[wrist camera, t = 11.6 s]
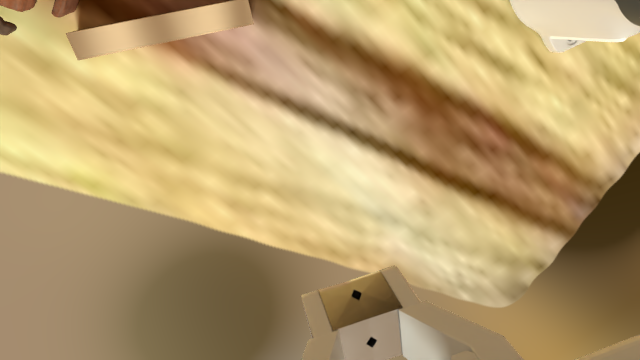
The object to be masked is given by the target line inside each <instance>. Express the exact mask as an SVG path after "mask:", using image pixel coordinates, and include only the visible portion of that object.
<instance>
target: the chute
mask: <svg viewBox="0 0 640 360" xmlns="http://www.w3.org/2000/svg"><path fill="white" fill-rule="evenodd" d="M252 24H254V23H253V18H252V14H251V10H250V6H249V1H248V0H231V1H226V2H221V3H216V4H210V5H205V6H200V7H195V8H190V9H185V10H180V11H175V12H169V13H164V14H159V15H154V16H149V17H144V18H139V19H134V20H128V21H123V22H118V23H113V24H108V25H103V26H98V27H92V28H87V29H82V30H77V31H73V32H70V33H66V35H67V37H68V39H69V42H70V44H71V46H72V48H73V50H74V53H75V55H76V57H77V59H78V60H82V59H87V58H92V57H97V56H102V55H107V54H111V53H116V52H121V51H126V50H131V49H136V48H141V47H145V46H150V45H155V44H160V43H165V42H170V41H175V40H179V39H184V38H189V37H194V36H199V35H204V34H209V33H213V32H218V31H223V30H228V29H233V28H238V27H243V26H247V25H252Z"/></svg>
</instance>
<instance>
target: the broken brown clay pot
mask: <svg viewBox="0 0 640 360" xmlns="http://www.w3.org/2000/svg"><path fill="white" fill-rule="evenodd" d="M36 1H37V0H0V5H1V6H4V7H7V8H10V9H13V10H16V11H20V12H23V11H25V10H30V9H31V8H33V7H34V6H35V3H36ZM78 1H79V0H55V2H54V7H53V10H52V14H53V15H54V16H55V17H62V16H64V15H67V14H69V13H72V12H74V11H75V9H76V7H77V5H78ZM16 29H17V27H16V25H15V24H13V23H10V22H7V21H4V20H3V18H2V17H0V34H1V35H8V34H10V33H12V32H13V31H15V30H16Z"/></svg>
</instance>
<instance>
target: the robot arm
mask: <svg viewBox="0 0 640 360" xmlns="http://www.w3.org/2000/svg"><path fill="white" fill-rule="evenodd" d="M510 3H511V6H512V8H513V10H514V12H515V13H516V15H517V16H518V18H519V19H520V20H521V21H522V22H523V23H524V24H525V25H526V26H528V27H529V28H531V29H533V30H534V31H536V32H537V33H538V34H539V35H540V36H541V38H542V40H543V42H544V44H545V46H546V47H547V49H548V50H549V51H550V52H559V53H560V52H564V51H566V50H568V49H571V48H573V47H575V46H577V45H579V44H581V43H583V42H585V41H602V42H622V41H625V40H626V39H627V37H630V36H633V35H636V34H638V33H639V32H640V0H510ZM301 296H302V301H303V305H304V309H305V313H306V316H307V320H308V324H309V328H310V332H311V336H312V339H310V340H308V343H307V346H306V348H305V351H304V354H303V356H302V359H301V360H387V359H390V358H393V357H396V356H400V355H403V356H404V357H405V358H407V359H408V360H523V358H522V357H521V356H520V355H519V354H518V353H517V351H515V349H514V348H513V347H512V346H511V344H510V343H509V342H508V341H507V340H506V338H505V337H504V336H502V335H500V334H498V333H496V332H493V331H491V330H489V329H487V328H485V327H483V326H480V325H478V324H476V323H474V322H472V321H469V320H467V319H465V318H463V317H460V316H459V315H456V314H454V313H452V312H450V311H447V310H445V309H443V308H441V307H439V306H437V305H434V304H432V303H430V302H428V301H423V302H421V301H420V300H419V298H418V297H417V295H416V294H415V292H414V291H413V289H412V288H411V286H410V285H409V284H408V282H407V281H406V279H405V278H404V276H403V275H402V273H401V272H400V271H399V269H398V268H397V267H396V266H391V267H388V268H385V269H382V270H379V271H377V272H373V273H370V274H367V275H364V276H361V277H359V278H355V279H352V280H349V281H347V282H343V283H339V284H336V285H333V286H329V287H326V288H322V289H319V290H318V291H313V292H310V293H307V294H303V295H301ZM575 360H640V335H637V336H635V337H632V338H630V339H627V340H624V341H622V342H619V343H616V344H614V345H611V346H609V347H606V348H603V349H601V350H598V351H596V352H593V353H590V354H588V355H585V356H583V357H580V358H577V359H575Z"/></svg>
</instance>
